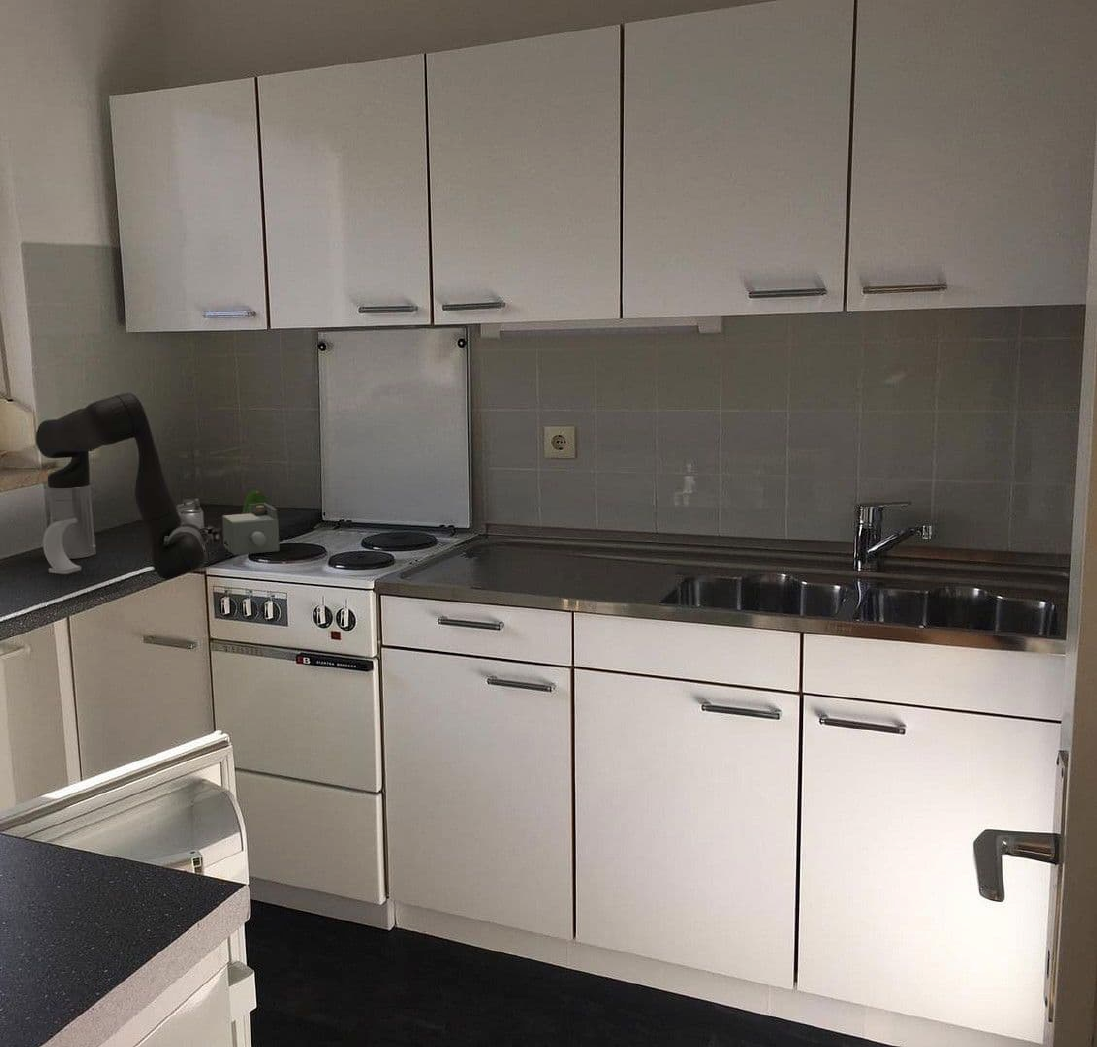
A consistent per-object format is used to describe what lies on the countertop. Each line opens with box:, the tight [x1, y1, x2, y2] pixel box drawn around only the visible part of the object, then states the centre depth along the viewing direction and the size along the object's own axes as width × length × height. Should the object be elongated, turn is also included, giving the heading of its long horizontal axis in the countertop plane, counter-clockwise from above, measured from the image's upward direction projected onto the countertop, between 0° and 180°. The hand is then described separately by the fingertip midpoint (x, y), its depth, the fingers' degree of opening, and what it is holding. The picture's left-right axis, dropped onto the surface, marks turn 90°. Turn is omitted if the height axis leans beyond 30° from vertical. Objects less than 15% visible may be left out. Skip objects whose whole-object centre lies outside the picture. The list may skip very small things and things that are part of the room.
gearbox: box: [221, 503, 281, 556], centre depth 264 cm, size 11×15×10 cm
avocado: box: [241, 489, 271, 514], centre depth 284 cm, size 8×8×12 cm
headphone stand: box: [42, 518, 82, 575], centre depth 241 cm, size 5×6×12 cm
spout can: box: [179, 498, 207, 557], centre depth 255 cm, size 6×6×14 cm
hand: (191, 530), depth 256 cm, fingers open, 8 cm apart
